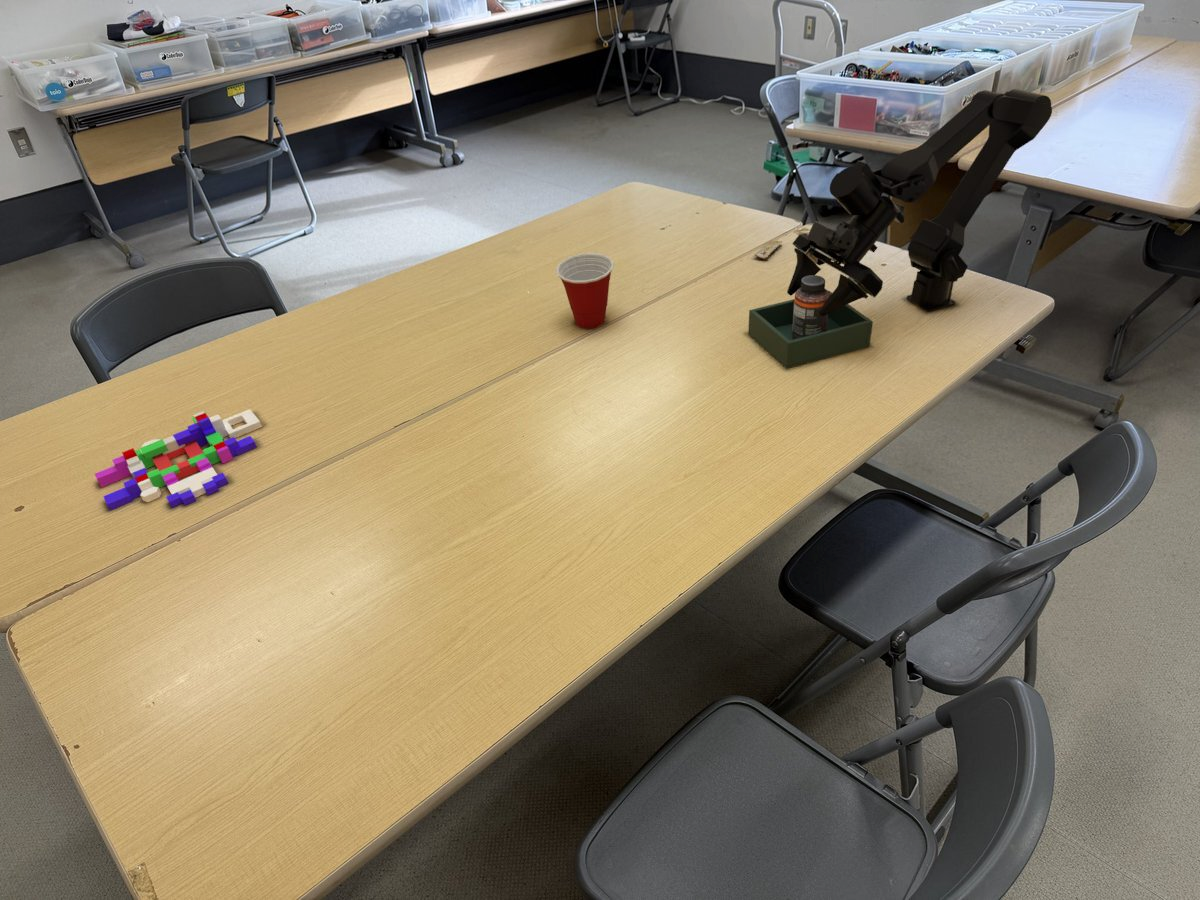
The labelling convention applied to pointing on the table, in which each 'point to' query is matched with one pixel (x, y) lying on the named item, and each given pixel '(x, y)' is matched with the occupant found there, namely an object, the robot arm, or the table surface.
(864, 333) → the bin
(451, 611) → the table surface
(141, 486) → the building block set
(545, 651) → the table surface
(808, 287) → the supplement bottle
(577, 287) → the plastic cup
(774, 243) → the snack bar
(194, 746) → the table surface
